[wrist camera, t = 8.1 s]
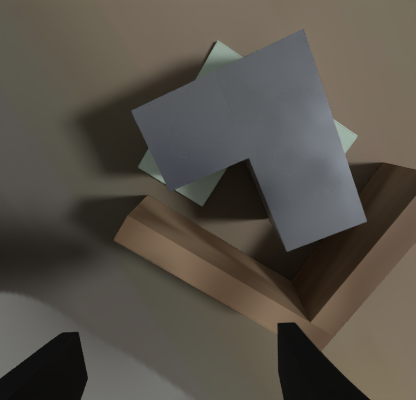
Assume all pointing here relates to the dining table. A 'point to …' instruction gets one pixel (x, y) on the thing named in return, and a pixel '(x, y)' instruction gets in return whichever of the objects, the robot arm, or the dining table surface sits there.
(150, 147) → the bracket
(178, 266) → the corner fence
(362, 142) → the dining table surface
